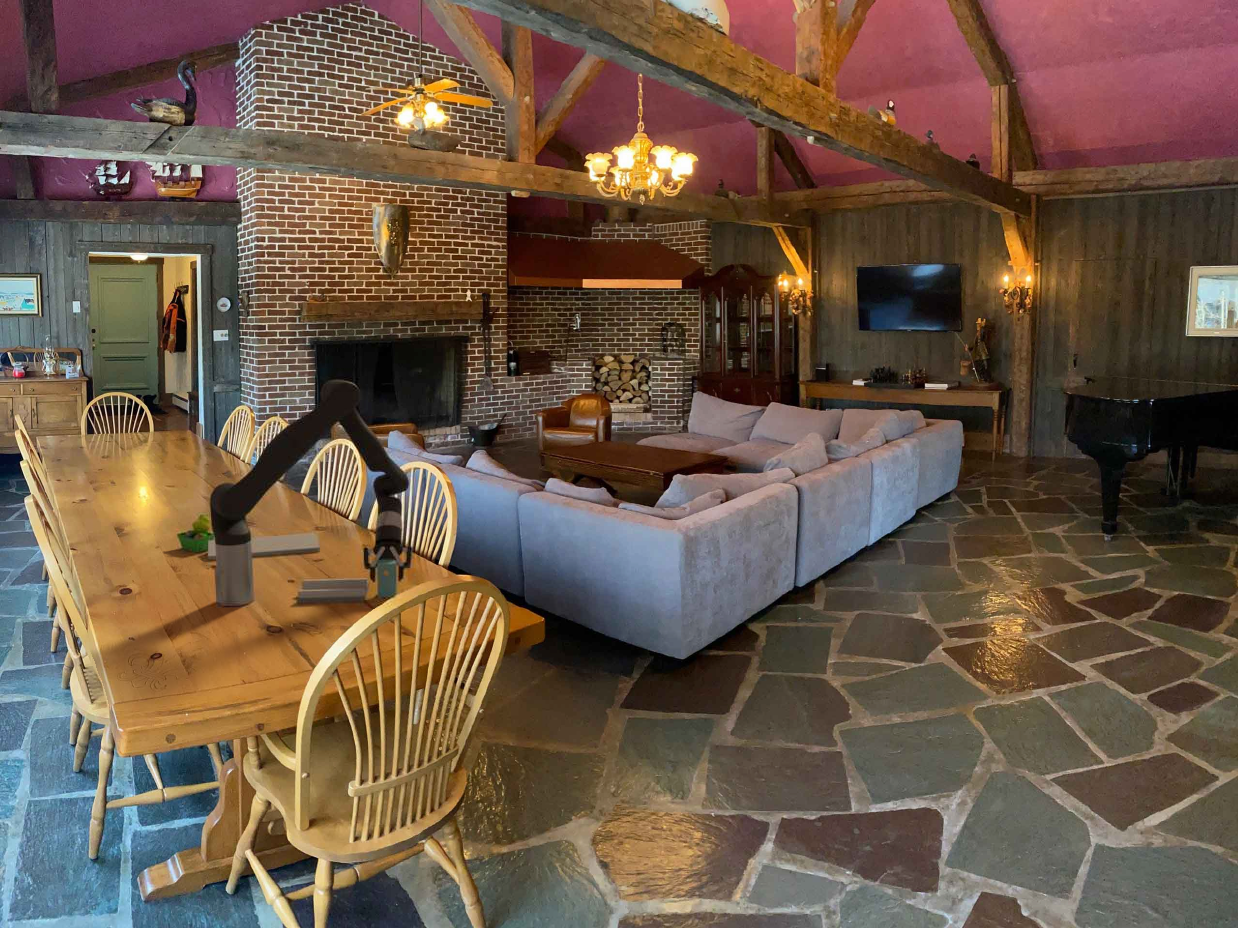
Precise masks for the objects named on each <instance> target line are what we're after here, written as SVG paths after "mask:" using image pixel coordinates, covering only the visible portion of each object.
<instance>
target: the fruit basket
mask: <svg viewBox="0 0 1238 928" xmlns="http://www.w3.org/2000/svg"><path fill="white" fill-rule="evenodd" d="M210 523H211V518H209V515H208V514H204V513H203V514H200V515H199V517H198V518H197V519H195V520H194V521H193V522H192V524H191V527H192V528H193V529H190V530H187V531H185V532H184V531H183V532H179V533H176V536H177V538H178V541H179V543H180V547H181V548H182V549H183V550H187V551H191V552H194V553H202V552H206V551H207V552H208V541H209V540H215V537H214V534H213V533H210V532H209V530H210V528H211V526H210V525H211V524H210Z"/></svg>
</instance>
